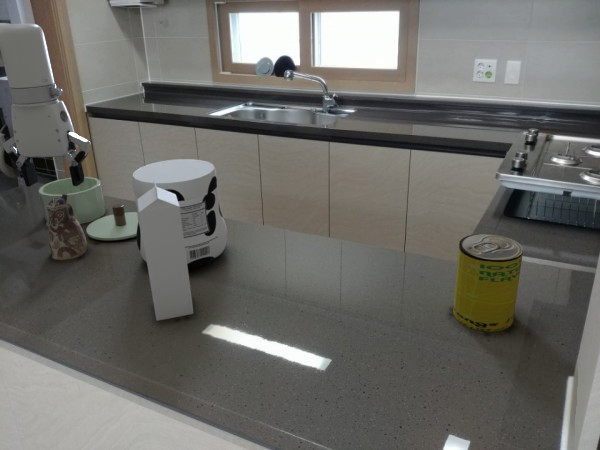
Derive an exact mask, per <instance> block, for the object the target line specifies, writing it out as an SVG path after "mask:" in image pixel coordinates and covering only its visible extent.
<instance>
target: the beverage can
mask: <svg viewBox="0 0 600 450" xmlns="http://www.w3.org/2000/svg"><path fill="white" fill-rule="evenodd" d="M457 253H458V254H457V263H456V265H457V266H456V275H455V285H454V298H453V307H452V308H453V309H452V315H453V317H454V318H455V320H456V321H457V322H459V324H461V325H463V326H465V327H467V328H469V329H472V330H476V331H480V332H493V333H495V332H499V331H503V330H506V329H508V328H509V327H511V326H512V324H513V322H514V317H515V311H516V303H517V297H518V289H519V281H520V275H521V268H522V262H523V256H524V255H523V254H524V247H523V246H522V244H520V243H519V242H517V240H514V239H512V238H510V237H506V236H503V235H498V234H491V233H475V234H471V235H466V236H465V237H463V238H461V239H460V241H459V243H458V252H457Z"/></svg>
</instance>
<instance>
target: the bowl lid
mask: <svg viewBox="0 0 600 450" xmlns="http://www.w3.org/2000/svg"><path fill="white" fill-rule="evenodd" d="M111 209H112V214H110V215H109V214H108V215H105V216H101V217H100V218H98V219H96V220H93V221H91V222H90V223H89V224H88V225H87V227H86V229H85V230H86V235H87V236H88V237H89V238H92V239H94V240H97V241H98V240H99V241H121V240H126V239H131V238H136V235H137V226H138V214H137V211H131V212H130V211H128V212H125V205H124V204H122V203H115V204H113V205H112V206H111Z"/></svg>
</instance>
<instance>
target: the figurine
mask: <svg viewBox="0 0 600 450" xmlns="http://www.w3.org/2000/svg"><path fill="white" fill-rule="evenodd" d="M67 197H68V195H67V194H63V195H62V197H61V198H54V199H52V200H51V201H50V203H49V204H48V206H47V207H46V209H47V210H48V216H49V222H48V223H47V222H46V223H45V225H46V226H47V227H48V237H49V238H48V239H49V242H48V243H49V245H48V246H49V251H50V253H51V257H52V259H53V260H58V261H63V260H72V259H76V258H79V257H81V256H83V255H84V254H85V253H86V252H87V250H88V241H87V238H86V235H85V232H84V230H83V227H82V224H80V223H79V222H78V220H77V219H76V218H74V211H73V208H72V206H71V205H70V204H68V203H67Z"/></svg>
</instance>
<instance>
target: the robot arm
mask: <svg viewBox="0 0 600 450" xmlns="http://www.w3.org/2000/svg"><path fill="white" fill-rule="evenodd" d="M2 67H3V68H4V70H5V75H6V79H7V83H8V87H9V92H10V95H11V99H12V104H11V106H10V109H11V110H10V111H11V112H10V113H11V114H10V115H11V125H12V132H13V136H12V137H10V138H8V139H7V140H6V141H4V142H2V143H1V147H2V148H3V150H4V151H5V152H6V153H7V154H8V157H9V158H10V159H11V160H12V161H14V162H15V164H16V166H17V167H18V168H20V170H21V175H22V178H23V181H24V184H25V187H26V188H27V187H29V188H30V187H32V186H34V185H35V184H37V183H38V182H39V179H38V174H37V170H36V167H35V164H34V162H31V161H32V159H33V158H62V157H63V158H64V159H65V160H66V161H67V162H68V163H69V165H70V166H69V167H68V170H69V175H70V178H71V179H72V184H73V186H78V185H80V184H81V183H83V182H84V177H85V173H84V169H83V165H82V163H83V162H84V161H85V159H86V158H87V156H88V155H89V150H90V147H91V141H90V139H89V140H88V139H87V138H84V137H82V136H80V135H78V134H77V133H76V131H75V129H74V125H73V122H72V119H71V116H70V113H69V111H68V108H67V107H66V104H65V103H64V101H63V100H59V97H62V96H63V94H64V92H63V89H62V88H60V87H59V88H58V87H57V85H56V83H55V79H54V74H53V69H52V65H51V60H50V55H49V50H48V46H47V41H46V37H45V33H44V30H43V28H42V27H41V26H40V25H38V24H37V23H9V22H0V68H2ZM15 146H16V147H15ZM78 148H79V151H76V150H78Z"/></svg>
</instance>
